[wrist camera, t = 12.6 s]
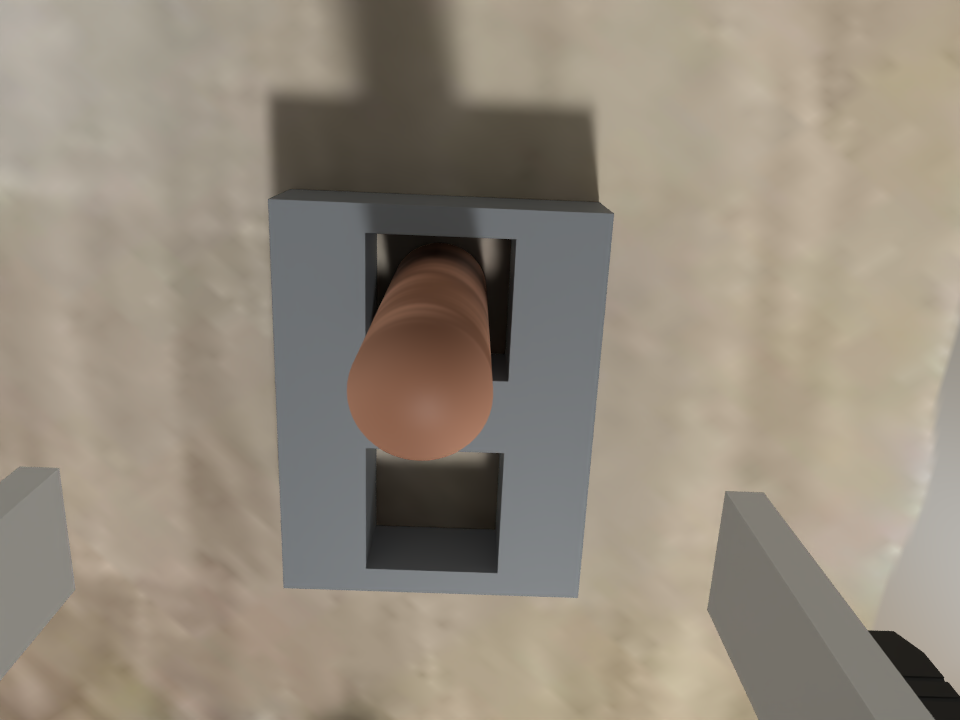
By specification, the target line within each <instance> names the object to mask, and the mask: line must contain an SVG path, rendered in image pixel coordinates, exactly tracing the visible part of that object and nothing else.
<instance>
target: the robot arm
mask: <svg viewBox="0 0 960 720" xmlns="http://www.w3.org/2000/svg"><path fill="white" fill-rule="evenodd" d="M74 591H75V583H74V576H73V568H72V561H71V553H70V546H69V538H68V531H67V523H66V516H65V508H64V501H63V493H62V486H61V478H60V471H59V468H44V467H18V468H17V469H16V470H15V471H13V472H12V473H11V474H10V475H8V476H7V477H6V478H5V479H3V480H2V481H1V482H0V680H1V679H2V678H3V677H4V675H5V674H6V673H7V672H8V670H9V669H10V668H11V667H12V666H13V664H14V663H15V662H16V661H17V660H18V658H19V657H20V656H21V655H22V654H23V652H24V651H25V650H26V649H27V647H28V646H29V645H30V644H31V643H32V641H33V640H34V639H35V638H36V637H37V635H38V634H39V633H40V632H41V631H42V629H43V628H44V627H45V626H46V624H47V623H48V622H49V621H50V620H51V618H52V617H53V616H54V615H55V614H56V612H57V611H58V610H59V609H60V608H61V606H62V605H63V604H64V603H65V602H66V600H67V599H68V598H69V597H70V595H71V594H72V593H73V592H74ZM707 610H708V612H709V614H710V616H711V618H712V621H713V623H714V625H715V627H716V629H717V631H718V633H719V636H720V638H721V640H722V642H723V644H724V646H725V649H726V651H727V653H728V655H729V657H730V659H731V661H732V664H733V666H734V668H735V670H736V672H737V674H738V676H739V679H740V681H741V683H742V685H743V687H744V689H745V691H746V694H747V696H748V698H749V700H750V702H751V704H752V706H753V709H754V711H755V713H756V715H757V717H758V719H759V720H960V696H959V695H958V694H957V692H956V691H955V690H954V689H953V688H952V686H951V685H950V684H949V683H948V682H945V681H944V677H943V675H942V674H941V673H940V672H939V671H938V669H937V668H936V667H935V666H934V665H933V663H932V662H931V661H930V660H929V658H928V657H927V656H926V655H925V654H924V653H923V652H922V651H921V650H919V649H918V648H916V647H915V646H914V645H912V644H911V643H909V642H908V641H907V640H905V639H904V638H902V637H901V636H900V635H898V634H897V633H895V632H894V631H869V630H867V629H866V628H865V626H864V625H863V624H862V622H861V621H860V620H859V618H858V617H857V616H856V614H855V613H854V612H853V610H852V609H851V608H850V606H849V605H848V604H847V602H846V601H845V600H844V598H843V597H842V596H841V594H840V593H839V592H838V590H837V589H836V588H835V587H834V585H833V584H832V583H831V581H830V580H829V579H828V577H827V576H826V575H825V573H824V572H823V571H822V569H821V568H820V567H819V565H818V564H817V563H816V561H815V560H814V559H813V557H812V556H811V555H810V553H809V552H808V551H807V549H806V548H805V547H804V545H803V544H802V543H801V541H800V540H799V539H798V537H797V536H796V535H795V533H794V532H793V531H792V529H791V528H790V527H789V525H788V524H787V523H786V522H785V520H784V519H783V518H782V516H781V515H780V514H779V512H778V511H777V510H776V508H775V507H774V506H773V504H772V503H771V502H770V500H769V499H768V498H767V496H766V495H765V494H764V493H762V492H734V491H725V498H724V504H723V511H722V517H721V524H720V530H719V537H718V543H717V550H716V556H715V563H714V570H713V576H712V583H711V589H710V596H709V602H708V609H707Z"/></svg>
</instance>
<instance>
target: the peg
mask: <svg viewBox="0 0 960 720" xmlns="http://www.w3.org/2000/svg"><path fill="white" fill-rule="evenodd" d="M347 400H348V405H349V409H350V412H351V415H352V417H353V419H354V421H355V423H356V425H357V426H358V428H359V429H360V431H361V432H362V433H363V434H364V435H365V437H366V438H367V439H368V440H369V441H371V442H372V443H373V444H374V445H375V446H377V447H378V448H380V449H382V450H383V451H385V452H387V453H389V454H391V455H394V456H397V457H400V458H404V459H409V460H418V461H421V460H434V459H439V458H443V457H446V456H449V455H451V454H454V453H456V452H458V451H459V450H461V449H463V448H464V447H465V446H467V445H468V444H469V443H471V442H472V441H473V440H474V439H475V438H476V437H477V435H478V434H479V433H480V432H481V430H482V429H483V427H484V425H485V424H486V422H487V420H488V417H489V415H490V411H491V408H492V402H493V381H492V365H491V350H490V335H489V320H488V305H487V290H486V281H485V277H484V273H483V271H482V269H481V267H480V265H479V264H478V262H477V261H476V260H475V259H474V258H473V257H472V256H471V255H470V254H469V253H468V252H466V251H465V250H463V249H461V248H460V247H457V246H455V245H451V244H447V243H431V244H426V245H423V246H421V247H418V248H416V249H415V250H413V251H412V252H410V253H409V254H408V255H407V256H406V257H405V258H404V259H403V260H402V262H401V263H400V264H399V266H398V268H397V270H396V272H395V274H394V276H393V279H392V281H391V283H390V285H389V287H388V289H387V291H386V294H385V296H384V298H383V300H382V302H381V304H380V306H379V308H378V311H377V313H376V315H375V317H374V319H373V321H372V323H371V326H370V328H369V330H368V332H367V334H366V336H365V338H364V341H363V343H362V345H361V347H360V349H359V351H358V353H357V356H356V358H355V360H354V362H353V364H352V367H351V369H350V372H349V376H348V381H347Z"/></svg>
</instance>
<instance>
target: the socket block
mask: <svg viewBox="0 0 960 720" xmlns="http://www.w3.org/2000/svg"><path fill="white" fill-rule="evenodd" d="M268 209H269V234H270V259H271V284H272V309H273V334H274V359H275V384H276V409H277V434H278V459H279V484H280V508H281V533H282V558H283V583H284V588H299V589H329V590H359V591H389V592H419V593H449V594H479V595H509V596H539V597H568V598H578V591H579V580H580V570H581V559H582V548H583V538H584V527H585V516H586V506H587V495H588V485H589V474H590V463H591V453H592V442H593V432H594V421H595V410H596V400H597V389H598V378H599V368H600V357H601V347H602V336H603V325H604V315H605V304H606V294H607V283H608V272H609V262H610V251H611V240H612V230H613V219H614V213H612V212H611V211H610V210H609V209H607V208H606V207H605V206H603V205H602V204H601V203H600V202H581V201H558V200H534V199H511V198H487V197H464V196H440V195H417V194H393V193H370V192H346V191H322V190H299V189H290V190H287V191H285V192H283V193H281V194H278V195H276V196H274V197H272V198H270V199H268ZM377 233H378V234H402V235H426V236H450V237H474V238H498V239H511V256H510V275H509V293H508V311H507V329H506V348H505V354H493V353H491V365H492V381H493V402H492V408H491V411H490V415H489V417H488V420H487V422H486V424H485V425H484V427H483V429H482V430H481V432H480V433H479V434H478V435H477V437H476V438H475V439H474V440H473V441H472V442H471V443H469V444H468V445H467V446H465V447H464V448H463V449H461V450H459V451H458V452H485V453H500V457H499V475H498V493H497V512H496V530H489V529H461V528H432V527H403V526H376V449H380V448H378V447H377V446H375V445H374V444H373V443H372V442H371V441H369V440H368V439H367V438H366V437H365V435H364V434H363V433H362V432H361V431H360V429H359V428H358V426H357V425H356V423H355V421H354V419H353V417H352V415H351V412H350V409H349V405H348V400H347V381H348V376H349V372H350V369H351V367H352V364H353V362H354V360H355V358H356V356H357V353H358V351H359V349H360V347H361V345H362V343H363V341H364V338H365V336H366V334H367V332H368V330H369V328H370V326H371V323H372V321H373V319H374V317H375V315H376V313H377Z"/></svg>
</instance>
